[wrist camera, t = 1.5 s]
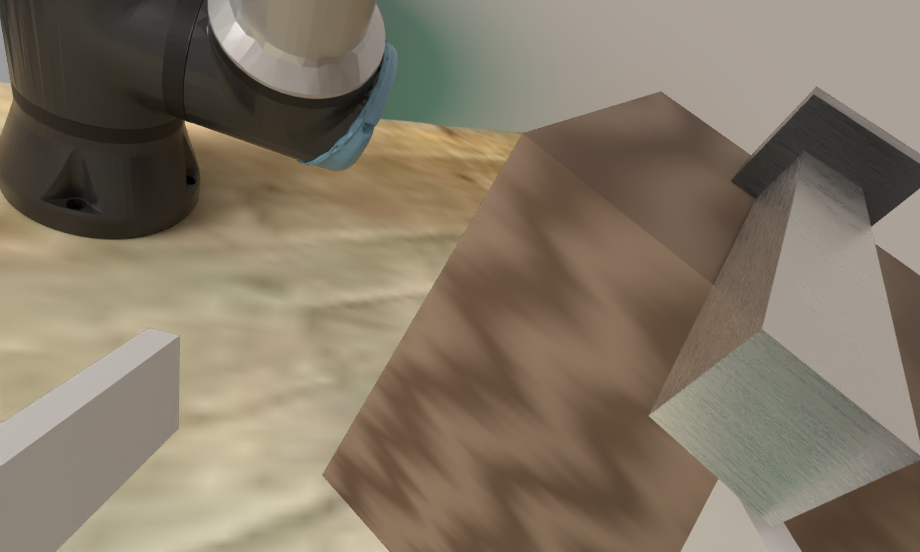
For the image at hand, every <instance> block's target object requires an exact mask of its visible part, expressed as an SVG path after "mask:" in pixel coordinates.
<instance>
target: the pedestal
mask: <svg viewBox="0 0 920 552" xmlns="http://www.w3.org/2000/svg"><path fill="white" fill-rule="evenodd" d="M750 156H751V155H750V154H748V153H747V152H745V151H744V150H743V149H741V148H740V147H738V146H737V145H736V144H734V143H733V142H731V141H730V140H729V139H727V138H726V137H724V136H723V135H721V134H720V133H719V132H717V131H716V130H715V129H713V128H712V127H710V126H709V125H707V124H706V123H705V122H703V121H702V120H700V119H699V118H698V117H696V116H695V115H693V114H692V113H691V112H689V111H688V110H686V109H685V108H684V107H682V106H681V105H679V104H678V103H677V102H675V101H674V100H672V99H671V98H669V97H668V96H667V95H665V94H664V93H662V92H658V93H655V94H651V95H648V96H645V97H641V98H638V99H635V100H631V101H628V102H625V103H621V104H618V105H615V106H612V107H608V108H605V109H602V110H598V111H595V112H591V113H588V114H585V115H582V116H578V117H575V118H572V119H569V120H565V121H562V122H558V123H555V124H552V125H548V126H545V127H542V128H538V129H535V130H532V131H529V132H525V133H522V135H521V137H520V138H519V140H518V142H517V144H516V145H515V147H514V149H513V150H512V152H511V154H510V155H509V157H508V159H507V161H506V162H505V164H504V166H503V167H502V169H501V171H500V173H499V174H498V176H497V178H496V179H495V181H494V183H493V185H492V186H491V188H490V190H489V191H488V193H487V195H486V196H485V198H484V200H483V202H482V203H481V205H480V207H479V208H478V210H477V212H476V214H475V215H474V217H473V219H472V220H471V222H470V224H469V225H468V227H467V229H466V231H465V232H464V234H463V236H462V237H461V239H460V241H459V243H458V244H457V246H456V248H455V249H454V251H453V253H452V255H451V256H450V258H449V260H448V261H447V263H446V265H445V266H444V268H443V270H442V272H441V273H440V275H439V277H438V278H437V280H436V282H435V284H434V285H433V287H432V289H431V290H430V292H429V294H428V295H427V297H426V299H425V301H424V302H423V304H422V306H421V307H420V309H419V311H418V313H417V314H416V316H415V318H414V319H413V321H412V323H411V325H410V326H409V328H408V330H407V331H406V333H405V335H404V336H403V338H402V340H401V342H400V343H399V345H398V347H397V348H396V350H395V352H394V354H393V355H392V357H391V359H390V360H389V362H388V364H387V365H386V367H385V369H384V371H383V372H382V374H381V376H380V377H379V379H378V381H377V383H376V384H375V386H374V388H373V389H372V391H371V393H370V395H369V396H368V398H367V400H366V401H365V403H364V405H363V406H362V408H361V410H360V412H359V413H358V415H357V417H356V418H355V420H354V422H353V424H352V425H351V427H350V429H349V430H348V432H347V434H346V435H345V437H344V439H343V441H342V442H341V444H340V446H339V447H338V449H337V451H336V453H335V454H334V456H333V458H332V459H331V461H330V463H329V465H328V466H327V468H326V470H325V471H324V473H323V476H324V478H325V479H326V480H327V481H328V482H329V483H330V484H331V485H332V487H333V488H334V489H335V490H336V491H337V492H338V493H339V495H340V496H341V497H342V498H343V499H344V500H345V501H346V502H347V504H348V505H349V506H350V507H351V508H352V509H353V510H354V512H355V513H356V514H357V515H358V516H359V517H360V518H361V519H362V521H363V522H364V523H365V524H366V525H367V526H368V527H369V529H370V530H371V531H372V532H373V533H374V534H375V535H376V536H377V538H378V539H379V540H380V541H381V542H382V543H383V544H384V546H385V547H386V548H387V549H388V550H389V551H390V552H681V550H682V548H683V546H684V544H685V542H686V540H687V538H688V537H689V535H690V533H691V531H692V529H693V527H694V525H695V523H696V521H697V519H698V517H699V515H700V513H701V511H702V510H703V508H704V506H705V504H706V502H707V500H708V498H709V496H710V494H711V492H712V490H713V488H714V486H715V484H716V483H717V481H718V478H717V477H716V476H715V475H714V474H713V473H711V472H710V471H709V470H708V469H707V468H706V467H705V466H704V465H703V464H701V463H700V462H699V461H698V460H697V459H696V458H695V457H694V456H693V455H691V454H690V453H689V452H688V451H687V450H686V449H685V448H684V447H683V446H682V445H680V444H679V443H678V442H677V441H676V440H675V439H674V438H673V437H672V436H670V435H669V434H668V433H667V432H666V431H665V430H664V429H663V428H662V427H660V426H659V425H658V424H657V423H656V422H655V421H654V420H653V419H652V418H650V417H649V414H650V412H651V410H652V408H653V406H654V404H655V402H656V400H657V398H658V396H659V394H660V392H661V390H662V388H663V386H664V384H665V382H666V380H667V378H668V376H669V374H670V371H671V369H672V367H673V365H674V363H675V361H676V359H677V357H678V355H679V353H680V351H681V349H682V347H683V345H684V343H685V341H686V339H687V337H688V335H689V333H690V331H691V329H692V327H693V325H694V323H695V321H696V319H697V317H698V315H699V313H700V311H701V309H702V307H703V305H704V303H705V301H706V299H707V297H708V295H709V293H710V291H711V289H712V286H713V284H714V282H715V280H716V278H717V276H718V274H719V272H720V270H721V268H722V266H723V264H724V262H725V260H726V258H727V256H728V254H729V252H730V250H731V248H732V246H733V244H734V242H735V240H736V238H737V236H738V234H739V232H740V230H741V228H742V226H743V224H744V222H745V220H746V218H747V216H748V214H749V212H750V210H751V208H752V206H753V204H754V201H755V199H756V198H755V197H753V196H752V195H751V194H749V193H748V192H746V191H745V190H744V189H742V188H741V187H740V186H738V185H737V184H736V183H734V182H733V181H731V180H732V179H733V177H734V176H735V175H736V173H737V172H738V171H739V169H740V168H741V167H742V165H743V164H744V163H745V161H746V160H747V159H748V158H749V157H750ZM875 246H876V250H877V255H878V259H879V264H880V268H881V273H882V277H883V281H884V286H885V290H886V295H887V299H888V303H889V308H890V312H891V317H892V321H893V325H894V330H895V334H896V339H897V343H898V347H899V352H900V356H901V361H902V365H903V369H904V374H905V378H906V383H907V387H908V391H909V396H910V400H911V405H912V409H913V413H914V418H915V422H916V427H917V431H918V435H919V440H920V275H918V274H917V273H915V272H914V271H913V270H911V269H910V268H908V267H907V266H906V265H904V264H903V263H901V262H900V261H899V260H897V259H896V258H894V257H893V256H892V255H890V254H889V253H887V252H886V251H884V250H883V249H882V248H880V247H879V246H878V245H876V244H875ZM784 524H785V526H786V527H787V529H788V530H789V532H790V534H791V535H792V537H793V539H794V540H795V542H796V543H797V545H798V547H799V548H800V550H801V551H802V552H920V460H919V461H917V462H915V463H913V464H910V465H908V466H906V467H904V468H901V469H899V470H897V471H895V472H893V473H890V474H888V475H886V476H884V477H882V478H879V479H877V480H875V481H873V482H871V483H868V484H866V485H864V486H862V487H859V488H857V489H855V490H853V491H851V492H848V493H846V494H844V495H842V496H840V497H837V498H835V499H833V500H831V501H829V502H826V503H824V504H822V505H820V506H817V507H815V508H813V509H811V510H809V511H806V512H804V513H802V514H800V515H798V516H795V517H793V518H791V519H789V520H787V521H784Z"/></svg>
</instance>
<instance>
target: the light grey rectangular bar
mask: <svg viewBox="0 0 920 552" xmlns="http://www.w3.org/2000/svg"><path fill="white" fill-rule="evenodd" d="M731 181H733V182H734V183H736V184H737V185H738V186H740V187H741V188H742V189H744V190H745V191H746V192H748V193H749V194H751V195H752V196H753V197H755V198H756V199H755V201H754V204H753V206H752V208H751V210H750V212H749V214H748V216H747V218H746V220H745V222H744V224H743V226H742V228H741V230H740V232H739V234H738V236H737V238H736V240H735V242H734V244H733V246H732V248H731V250H730V252H729V254H728V256H727V258H726V260H725V262H724V264H723V266H722V268H721V270H720V272H719V274H718V276H717V278H716V280H715V282H714V284H713V286H712V289H711V291H710V293H709V295H708V297H707V299H706V301H705V303H704V305H703V307H702V309H701V311H700V313H699V315H698V317H697V319H696V321H695V323H694V325H693V327H692V329H691V331H690V333H689V335H688V337H687V339H686V341H685V343H684V345H683V347H682V349H681V351H680V353H679V355H678V357H677V359H676V361H675V363H674V365H673V367H672V369H671V371H670V374H669V376H668V378H667V380H666V382H665V384H664V386H663V388H662V390H661V392H660V394H659V396H658V398H657V400H656V402H655V404H654V406H653V408H652V410H651V412H650V414H649V417H650V418H652V419H653V420H654V421H655V422H656V423H657V424H658V425H659V426H660V427H662V428H663V429H664V430H665V431H666V432H667V433H668V434H669V435H670V436H672V437H673V438H674V439H675V440H676V441H677V442H678V443H679V444H680V445H682V446H683V447H684V448H685V449H686V450H687V451H688V452H689V453H690V454H691V455H693V456H694V457H695V458H696V459H697V460H698V461H699V462H700V463H701V464H703V465H704V466H705V467H706V468H707V469H708V470H709V471H710V472H711V473H713V474H714V475H715V476H716V477H717V478H718V479H719V480H720V481H721V482H723V483H724V484H725V485H726V486H727V487H728V488H729V489H730V490H731V491H733V492H734V493H735V494H736V495H737V496H738V497H739V498H740V499H741V500H743V501H744V502H745V503H746V504H747V505H748V506H749V507H750V508H751V509H753V510H754V511H755V512H756V513H757V514H758V515H759V516H760V517H761V518H763V519H764V520H765V521H766V522H767V523H768V524H769V525H770V526H771V527H773V526H775V525H778V524H780V523H782V522H784V521H787V520H789V519H791V518H793V517H795V516H798V515H800V514H802V513H804V512H806V511H809V510H811V509H813V508H815V507H817V506H820V505H822V504H824V503H826V502H829V501H831V500H833V499H835V498H837V497H840V496H842V495H844V494H846V493H848V492H851V491H853V490H855V489H857V488H859V487H862V486H864V485H866V484H868V483H871V482H873V481H875V480H877V479H879V478H882V477H884V476H886V475H888V474H890V473H893V472H895V471H897V470H899V469H901V468H904V467H906V466H908V465H910V464H913V463H915V462H917V461H919V460H920V440H919V435H918V431H917V427H916V422H915V418H914V413H913V409H912V405H911V400H910V396H909V391H908V387H907V383H906V378H905V374H904V369H903V365H902V361H901V356H900V352H899V347H898V343H897V339H896V334H895V330H894V325H893V321H892V317H891V312H890V308H889V303H888V299H887V295H886V290H885V286H884V281H883V277H882V273H881V268H880V264H879V259H878V255H877V250H876V246H875V242H874V237H873V233H872V229H871V226H873V225H874V224H875V223H876V222H878V221H879V220H880V219H881V218H883V217H884V216H885V215H887V214H888V213H889V212H890V211H892V210H893V209H894V208H895V207H897V206H898V205H899V204H900V203H902V202H903V201H904V200H906V199H907V198H908V197H909V196H911V195H912V194H913V193H914V192H916V191H917V190H918V189H919V188H920V154H919V153H918V152H916V151H915V150H913V149H912V148H910V147H908V146H907V145H906V144H904V143H903V142H901V141H899V140H898V139H896V138H895V137H893V136H892V135H890V134H889V133H887V132H886V131H884V130H882V129H881V128H880V127H878V126H876V125H875V124H873V123H872V122H870V121H869V120H867V119H866V118H864V117H863V116H861V115H860V114H858V113H856V112H855V111H853V110H852V109H850V108H849V107H847V106H846V105H844V104H843V103H841V102H840V101H838V100H837V99H835V98H834V97H832V96H830V95H829V94H827V93H826V92H824V91H823V90H821V89H820V88H818V87H816V88H815V89H814V90H813V91H812V92H811V93H810V94H809V95H808V96H807V97H806V98H805V99H804V100H803V101H802V102H801V103H800V104H799V105H798V107H797V108H796V109H795V110H794V111H793V112H792V113H791V114H790V115H789V116H788V117H787V118H786V119H785V120H784V121H783V122H782V123H781V124H780V126H778V128H777V129H776V130H775V131H774V132H773V133H772V134H771V135H770V136H769V137H768V138H767V139H766V140H765V141H764V142H763V143H762V144H761V145H760V146H759V148H758V149H757V150H756V151H755V152H754V153H753V154H752V155H751V156H750V157H749V158H748V159H747V160H746V161H745V163H744V164H743V165H742V167H741V168H740V169H739V171H738V172H737V173H736V175H735V176H734V177H733V179H732V180H731Z"/></svg>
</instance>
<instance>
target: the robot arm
mask: <svg viewBox="0 0 920 552" xmlns="http://www.w3.org/2000/svg"><path fill="white" fill-rule="evenodd" d="M376 2H377V0H0V20H1V26H2V32H3V38H4V44H5V50H6V56H7V62H8V68H9V74H10V80H11V86H12V93H13V102H12V105H11V108H10V111H9V113H8V116H7V119H6V122H5V125H4V128H3V131H2V134H1V136H0V189H1V191H2V193H3V195H4V197H5V198H6V199H7V201H8V202H9V203H10V204H11V205H12V206H13V207H14V208H15V209H17V210H18V211H19V212H21V213H22V214H24V215H25V216H27V217H28V218H30V219H32V220H34V221H36V222H38V223H40V224H42V225H45V226H47V227H50V228H53V229H56V230H59V231H62V232H66V233H70V234H75V235H80V236H87V237H96V238H128V237H137V236H143V235H148V234H152V233H156V232H159V231H162V230H164V229H167V228H169V227H171V226H173V225H175V224H177V223H178V222H180V221H181V220H183V219H184V218H185V217H186V216H187V215H189V213H190V212H191V211H192V210H193V208H194V207H195V205H196V202H197V199H198V193H199V184H200V172H199V167H198V164H197V161H196V158H195V155H194V151H193V148H192V145H191V142H190V139H189V136H188V132H187V129H186V126H185V121H188V122H190V123H194V124H197V125H200V126H203V127H206V128H208V129H211V130H214V131H217V132H220V133H223V134H226V135H229V136H231V137H234V138H237V139H240V140H243V141H246V142H249V143H251V144H254V145H257V146H260V147H263V148H266V149H269V150H271V151H274V152H277V153H280V154H283V155H286V156H289V157H291V158H294V159H297V161H298V162H300V163H302V164H304V165H308V166H309V165H311V166H312V165H316V166H319V167H322V168H326V169H329V170H333V171H341V170H345V169H347V168H349V167H350V166H352V165H353V164H354V163H355V162H356V161H357V160H358V158H359V157H360V156H361V154H362V153H363V151H364V150H365V148H366V146H367V144H368V143H369V141H370V139H371V137H372V134H373V130H374V127H375V126H376V125H377V123H378V121H379V120H380V118H381V116H382V113H383V110H384V108H385V106H386V103H387V100H388V98H389V95H390V91H391V88H392V85H393V81H394V78H395V73H396V68H397V61H398V59H397V58H398V57H397V53H396V50H395V49H394V47H393V46H392V45H391V44H389V43H388V42H387V41H386V40H385V28H384V23H383V19H382V16H381V14H380V11H379V9H378V7H377V5H376ZM179 356H180V335H176V334H172V333H168V332H164V331H160V330H156V329H152V328H148V329H146V330H145V331H143V332H142V333H140V334H138V335H137V336H135V337H134V338H132V339H131V340H129V341H128V342H126V343H125V344H123V345H121V346H120V347H118V348H117V349H115V350H114V351H112V352H111V353H109V354H108V355H106V356H104V357H103V358H101V359H100V360H98V361H97V362H95V363H94V364H92V365H91V366H89V367H87V368H86V369H84V370H83V371H81V372H80V373H78V374H77V375H75V376H74V377H72V378H70V379H69V380H67V381H66V382H64V383H63V384H61V385H60V386H58V387H57V388H55V389H53V390H52V391H50V392H49V393H47V394H46V395H44V396H43V397H41V398H40V399H38V400H36V401H35V402H33V403H32V404H30V405H29V406H27V407H26V408H24V409H23V410H21V411H19V412H18V413H16V414H15V415H13V416H12V417H10V418H9V419H7V420H6V421H4V422H2V423H1V424H0V552H56V551H57V550H58V549H59V548H60V547H61V546H62V545H63V544H64V543H65V542H66V541H67V540H68V539H69V538H70V537H71V536H72V535H73V534H74V533H75V532H76V531H77V530H78V529H79V528H80V527H81V526H82V525H83V524H84V523H85V522H86V521H87V520H88V519H89V518H90V517H91V516H92V515H93V514H94V513H95V512H96V511H97V510H98V509H99V508H100V507H101V506H102V505H103V504H104V503H105V502H106V501H107V500H108V499H109V498H110V497H111V496H112V495H113V494H114V493H115V492H116V491H117V490H118V489H119V488H120V487H121V486H122V485H123V484H124V483H125V482H126V481H127V480H128V479H129V478H130V477H131V476H132V475H133V474H134V473H135V472H136V471H137V470H138V469H139V468H140V467H141V466H142V465H143V464H144V463H145V462H146V461H147V460H148V459H149V458H150V457H151V456H152V455H153V454H154V453H155V452H156V451H157V450H158V449H159V448H160V447H161V446H162V445H163V444H164V443H165V442H166V441H167V440H168V439H169V438H170V437H171V436H172V435H173V434H174V433H175V432H176V431H177V430H178V429H179ZM681 552H802V551H801V550H800V548H799V547H798V545H797V543H796V542H795V540H794V539H793V537H792V535H791V534H790V532H789V530H788V529H787V527H786V526H785V524H784V522H782V523H780V524H778V525H775V526H773V527H771V526H770V525H769V524H768V523H767V522H766V521H765V520H764V519H763V518H761V517H760V516H759V515H758V514H757V513H756V512H755V511H754V510H753V509H751V508H750V507H749V506H748V505H747V504H746V503H745V502H744V501H743V500H741V499H740V498H739V497H738V496H737V495H736V494H735V493H734V492H733V491H731V490H730V489H729V488H728V487H727V486H726V485H725V484H724V483H723V482H721V481H720V480H719V479H718V481H717V483H716V484H715V486H714V488H713V490H712V492H711V494H710V496H709V498H708V500H707V502H706V504H705V506H704V508H703V510H702V511H701V513H700V515H699V517H698V519H697V521H696V523H695V525H694V527H693V529H692V531H691V533H690V535H689V537H688V538H687V540H686V542H685V544H684V546H683V548H682V550H681Z"/></svg>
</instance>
